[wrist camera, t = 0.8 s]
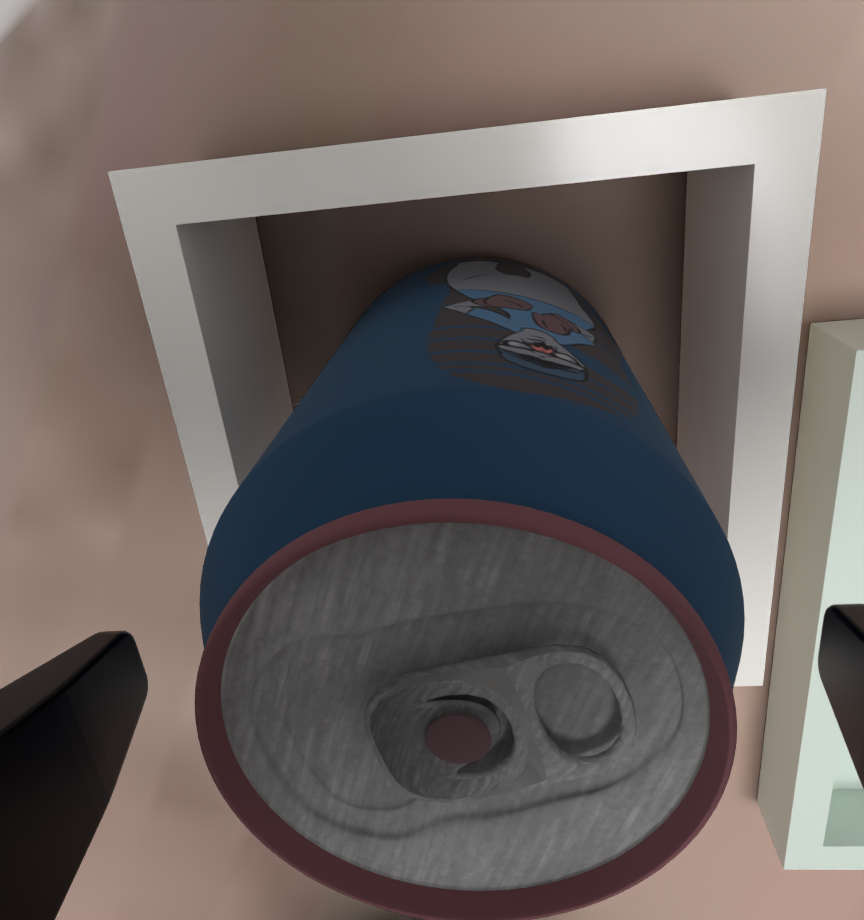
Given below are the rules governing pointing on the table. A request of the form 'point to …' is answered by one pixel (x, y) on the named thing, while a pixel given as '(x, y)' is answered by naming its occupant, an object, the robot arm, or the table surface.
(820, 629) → the tray
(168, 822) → the table surface
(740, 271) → the pale square open box
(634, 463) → the soda can
